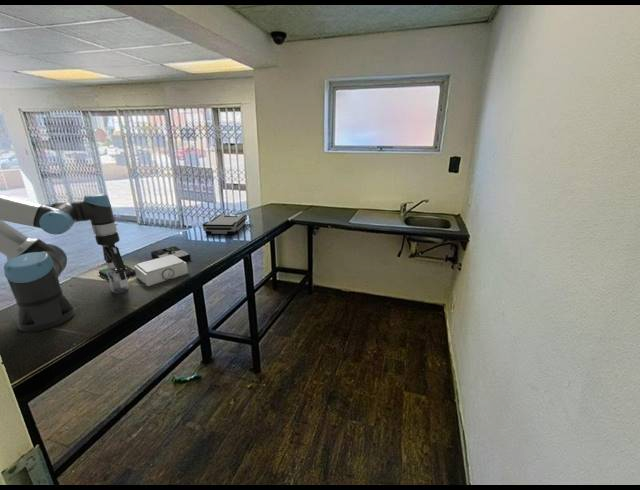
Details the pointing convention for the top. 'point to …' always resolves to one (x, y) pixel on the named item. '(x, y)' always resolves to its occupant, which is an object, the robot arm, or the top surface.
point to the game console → (225, 225)
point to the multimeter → (171, 253)
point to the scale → (160, 269)
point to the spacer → (115, 281)
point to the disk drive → (128, 272)
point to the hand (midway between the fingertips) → (119, 281)
